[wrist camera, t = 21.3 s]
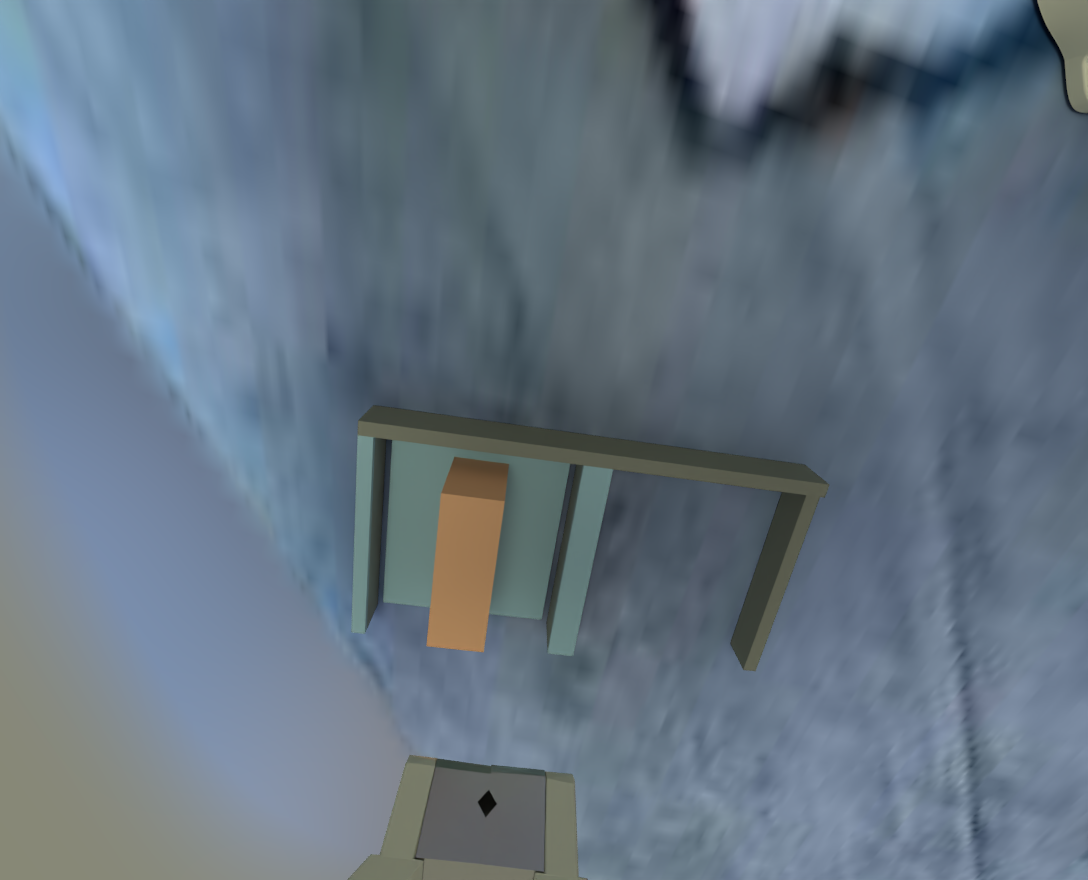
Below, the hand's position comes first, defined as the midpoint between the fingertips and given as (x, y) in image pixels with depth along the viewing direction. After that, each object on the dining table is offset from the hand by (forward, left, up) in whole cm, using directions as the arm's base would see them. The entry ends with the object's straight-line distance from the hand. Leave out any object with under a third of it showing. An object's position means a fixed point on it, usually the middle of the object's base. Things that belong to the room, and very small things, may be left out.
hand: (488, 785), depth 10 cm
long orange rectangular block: (+2, +12, -29) cm, 31 cm away
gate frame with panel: (-6, +12, -29) cm, 32 cm away
